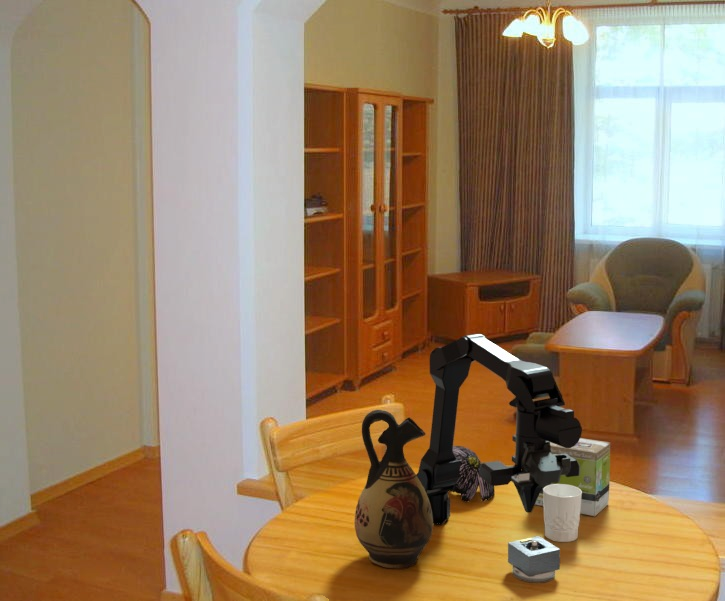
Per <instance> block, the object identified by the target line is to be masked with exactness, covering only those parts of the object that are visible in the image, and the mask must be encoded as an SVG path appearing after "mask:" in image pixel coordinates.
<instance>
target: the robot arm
mask: <svg viewBox="0 0 725 601" xmlns="http://www.w3.org/2000/svg"><path fill="white" fill-rule="evenodd" d="M474 362H477V363H478V364H480V365H481V366H483V367H484V368H486V369H487V370H489V371H490V372H491V373H493V374H494V375H496V376H497V377H499V378H501V379H502V380H504V382H505V384H506V388H507V390H508V391H509V392H510V393H511V394H512V395H513V396H514V398H512V399H511V400H510V401H508V402H509V403H508V405H509V406H511V407H513V408H516V418H515V419H516V420H515V422H516V423H515V425H516V426H515V434H513V435H512V441H513V442H514V443H515V450H514V451H515V453H514V455H512V456H511V461H512V463H514V465H505V464H504V463H503V462H501V461H500V460H495V461H488V462H487V461H486V462H485V461H484V462H483V463H482V465H481V466H480V468H479V476H480V477H481V478H482V479H484V480H485V481H486V482H488V483H489V484H490V485H492V486H494V487H497V486H506V485H509V484H510V483H511V482H512V483H513V485H514V487H515V489H516V490H517V494H518V496H519V498H520V502H521V503H522V506H523V508H524V512H526V513H527V514H531V513H532V512H533V510H534V507H535V506H536V505H535V503H536V501H537V498H538V496H539V494H540V492H541V490H542V488H543V487H544V486H545V485H547V484H548V483H558V482H559V481H560V477H561V475H565V476H566V477H573V476H579V475H580V465H579V462H578V461H577V460H575V459H574V458H572V457H570V456H569V455H568V454H565V453H564V454H552V453H551V449H550V448H551V445H550V442H551V443H554V444H557V445H559V446H562V447H564V448H571V447H573V446H575V445H576V444H577V442H578V441H579V439H580V438H582V433H583V427H582V425H581V423H580V420H579V419H578V418H577V417H576V416H575V411H574V410H572V409H570V408H564V407H565V405H566V403H565V401H564V398H563V394H562V392H561V391H560V389H559V386H558V384H557V381H556V379H555V377H554V375H553V371H552V370H551V369H549V367H547V366H544V365H542V364H538V363H535V362H530V361H524V360H521V359H519V358H518V357H516V356H514V355H512V354H511V353H509V352H508V351H506V350H505V349H503V348H502V347H500V346H499V345H497V344H495V343H493V342H492V341H490V340H489V339H487V337H486V336H485V335H484V334H481V333H475V334H467V335H463V336H461V337H459V338H458V339H457V340H455V341H452V342H450V343H447V344H446V345H443V346H439V347H438V346H437V347H435V348H433V350H431V351H430V354H429V375H430V376H431V379H432V380H433V383H434V385H435V388H434V400H433V410H432V420H431V429H430V439H429V447H428V449H427V451H425V453H424V455H423V456H422V458H421V459H420V463H419V466H418V471H417V473H415V474H416V476H417V477H418V479H419V481H420V482H421V484H422V486H423V487H424V489H425V491H426V494H427V496H428V499H429V502H430V505H431V509H432V515H433V525H444V524H445V523H446V521H447V520H448V519H449V517H450V516H451V497H449V492H450V491H451V492H453V491H454V489H455V485H456V483H457V481H458V478H460V467H461V462H460V460H457V458H456V456H455V454H454V453H453V446H454V441H455V431H456V423H457V421H456V420H457V414H458V404H459V394H460V389H461V387H462V385H463V384H464V382H465V381H466V379H468V376H469V374H470V369H471V365H472V363H474ZM548 397H549V398H548ZM541 398H542V399H541ZM543 398H544V399H543ZM536 399H537V400H536Z"/></svg>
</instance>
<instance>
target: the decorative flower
mask: <svg viewBox="0 0 725 601" xmlns="http://www.w3.org/2000/svg"><path fill="white" fill-rule="evenodd" d="M453 453H454V454H455V456H456V458H457V460H460V462H461V467H460V478H458V481H457V483H456V485H455V489H454V491H452V493H456V494H459V495H460V500H461V501H462V502H464V503H468V501H469V502H470V501H471V500H473V498H474V497H475V495H476V493H477V491H478V489H479V493H480V499H481V502H482V503H484V502H485V501H490V499H492V497H493V496H494V495H495V490H496V489H495V486H492V485H490V484H489V483H488V482H486V481H485V480H484V479H482V478H481V477H480V476H479V468H480V466H481V465H482V464H483V463H482V461H481V460H480V457H478V455H477V454H476V452H474V451H473V450H471V449H470V448H468V447H465V446H460V445H453Z"/></svg>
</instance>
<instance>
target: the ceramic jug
mask: <svg viewBox="0 0 725 601" xmlns="http://www.w3.org/2000/svg"><path fill="white" fill-rule="evenodd" d="M381 421H383V422H384V423H386V424H388V427H387V428H386V429H384V430H383V432H382V433H381V434H380V435H379V437H378V439H377V441H378V443H379V444H381V445H382V444H383V445H385V447H386V449H385V452H384V455H383V456H382V459H381V460H379V458H378V455H377V452H376V450H375V448H374V443H373V440H372V436H371V430H370V429H371V425H373V424H374V423H375V422H381ZM361 423H362V424H361V437H362V442H363V444H364V447H365V450H366V452H367V456H368V458H369V462H370V467H369V469H368V475H367V479H366V483H365V486H364V487H363V489H362V490H361V492H360V496H359V498H358V500H357V504H356V507H355V512H354V529H355V535H356V538H357V539H358V541H359V543H360V544H361V546H362V547H363V548H364V549H365V550H366V552H367V553H368V559H369V560H370V562H372V564H375V565H378V566H380V567H383V568H385V569H401V570H405V569H409V567H412V566H414V565H416V564H417V563H418V561H419V558H418V557H419V556H420V554H421V552H423V550H424V549H425V547H426V546H427V545H428V544H429V542H430V539H431V538H432V534H433V530H434V529H433V528H434V524H433V515H432V509H431V505H430V502H429V499H428V496H427V494H426V491H425V489H424V487H423V486H422V484H421V482H420V481H419V479H418V477H417V476H416V474H417V473H415V471H414V470H413V468H412V466H410V464H409V463H408V462H407V459H406V458H405V454H404V446H405V445H406V444H408V443H410V442H412V441H414V440H416V439H419V438H422V437H424V436H426V432H425V431H424V430H423V428H422V427H420V426H419V425H418V424H417V422H415V421H414V419H412V418H411V417H410V416H408V417H406V419H404V420H403V421H402V422H401V423H400V424H398V422H397V419H396V417H395V416H394V415H393V414H392V413H391V412H389V411H386V410H382V409H375V410H372V411H370V412H368V413H367V414H366V415H365V417H364V418H363V420H362V422H361ZM346 562H348V561H347V560H346Z"/></svg>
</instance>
